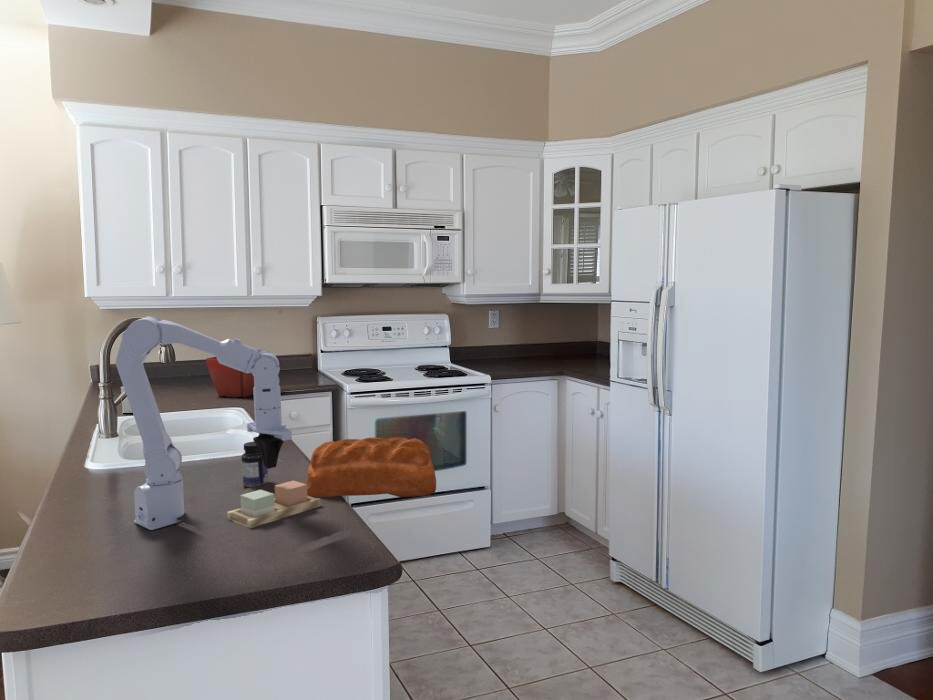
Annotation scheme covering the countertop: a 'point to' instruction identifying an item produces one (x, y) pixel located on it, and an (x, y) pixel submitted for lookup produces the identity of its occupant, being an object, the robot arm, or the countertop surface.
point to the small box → (125, 404)
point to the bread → (371, 468)
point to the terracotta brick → (290, 493)
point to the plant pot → (230, 380)
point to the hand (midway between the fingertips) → (270, 467)
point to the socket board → (273, 513)
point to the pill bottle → (253, 467)
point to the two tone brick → (257, 503)
